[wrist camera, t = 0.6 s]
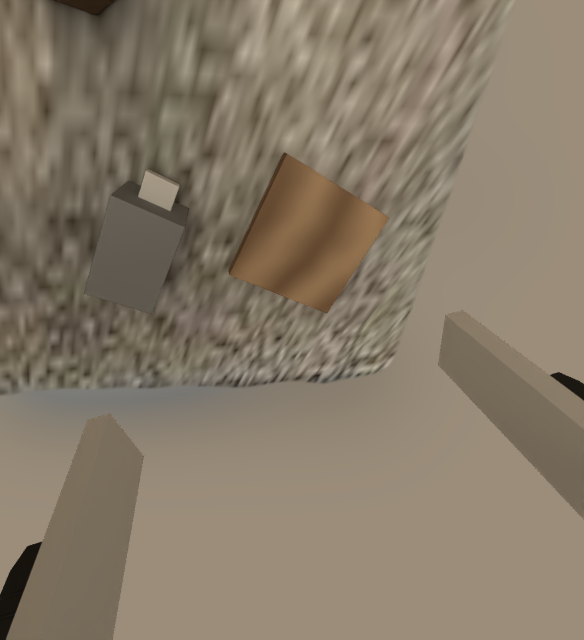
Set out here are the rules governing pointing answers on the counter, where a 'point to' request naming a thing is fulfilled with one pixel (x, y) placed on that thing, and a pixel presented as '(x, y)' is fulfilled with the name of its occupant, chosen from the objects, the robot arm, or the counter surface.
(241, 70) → the counter surface
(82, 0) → the beer bottle
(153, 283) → the plug
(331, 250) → the walnut board
